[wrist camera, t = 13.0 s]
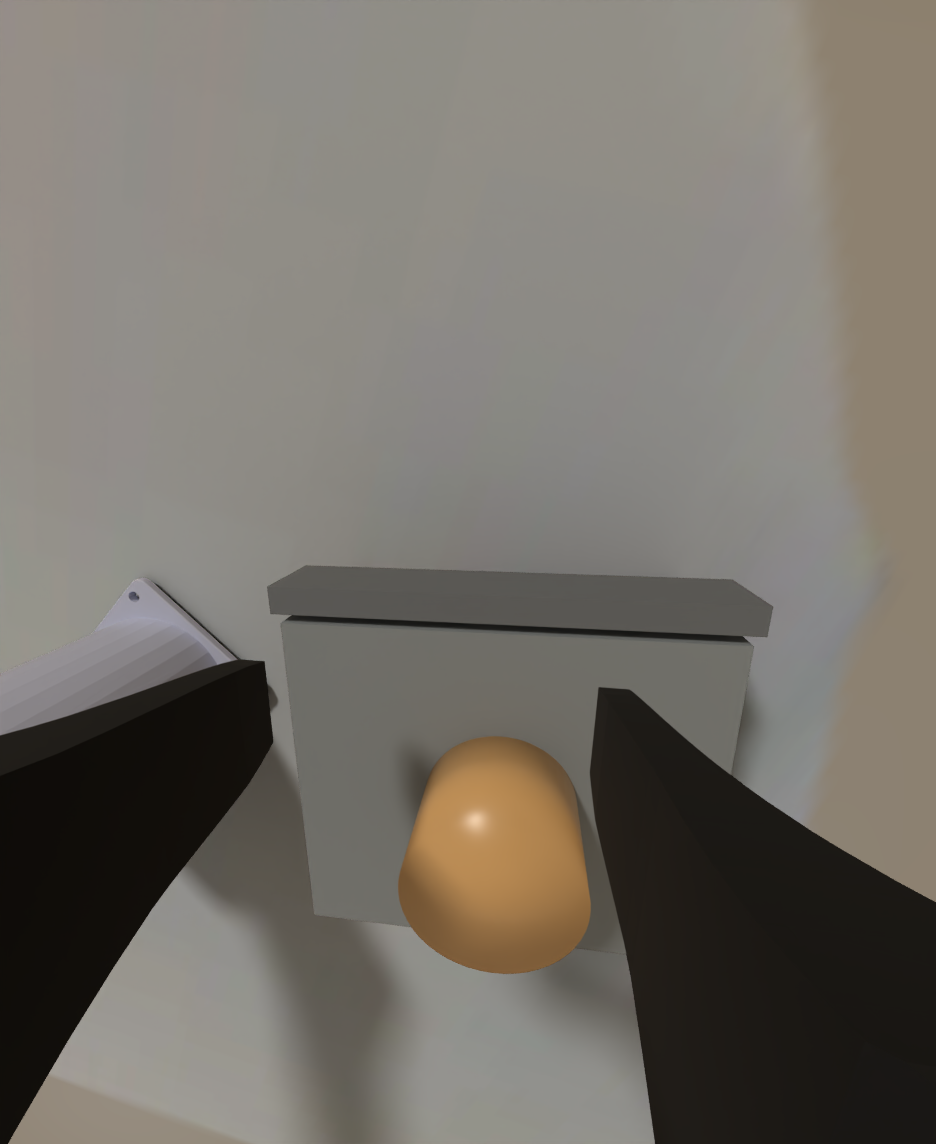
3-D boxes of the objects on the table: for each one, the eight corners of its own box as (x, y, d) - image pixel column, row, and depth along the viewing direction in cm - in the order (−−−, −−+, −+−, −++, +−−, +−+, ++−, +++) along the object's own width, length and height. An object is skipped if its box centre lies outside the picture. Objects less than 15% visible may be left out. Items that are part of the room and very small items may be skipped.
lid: (682, 894, 19) (705, 964, 16) (333, 856, 20) (306, 913, 18) (732, 579, 15) (772, 606, 13) (305, 565, 17) (267, 586, 14)
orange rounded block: (499, 885, 16) (491, 1000, 13) (396, 793, 16) (360, 887, 12) (609, 810, 15) (632, 916, 12) (500, 707, 14) (491, 786, 11)
